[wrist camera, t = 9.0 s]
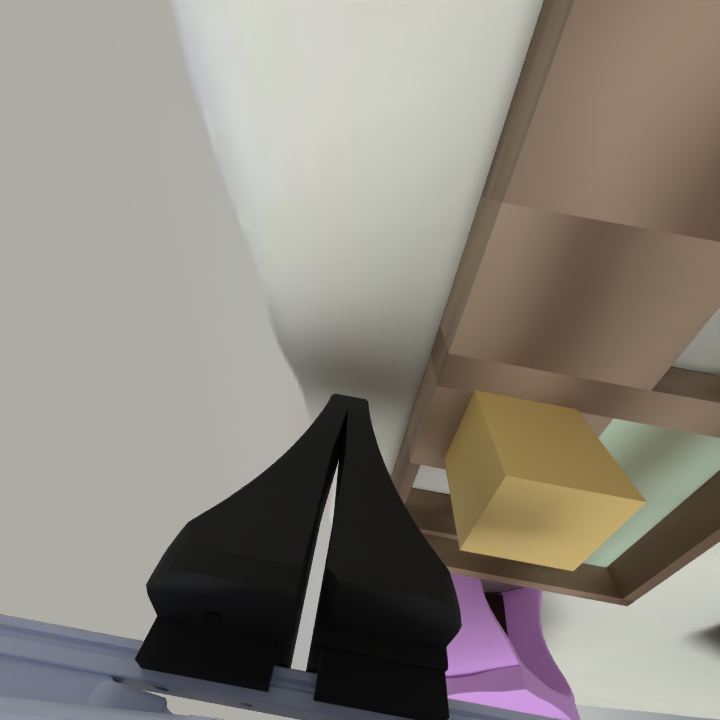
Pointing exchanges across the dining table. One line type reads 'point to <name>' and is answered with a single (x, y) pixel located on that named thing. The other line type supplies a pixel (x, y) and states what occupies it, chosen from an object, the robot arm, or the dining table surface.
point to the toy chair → (505, 655)
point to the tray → (595, 283)
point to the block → (534, 483)
